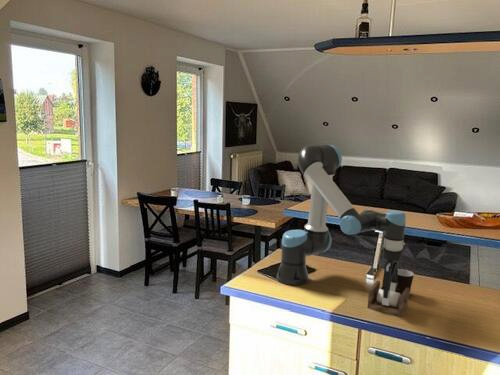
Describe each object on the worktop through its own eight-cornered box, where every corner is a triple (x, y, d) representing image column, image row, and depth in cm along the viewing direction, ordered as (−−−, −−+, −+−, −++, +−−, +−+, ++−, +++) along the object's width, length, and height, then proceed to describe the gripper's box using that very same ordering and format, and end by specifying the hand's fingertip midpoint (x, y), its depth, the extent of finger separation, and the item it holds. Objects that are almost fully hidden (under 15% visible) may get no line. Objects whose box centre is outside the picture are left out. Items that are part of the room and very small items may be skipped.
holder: (366, 307, 174) (368, 289, 173) (374, 297, 184) (376, 280, 183) (401, 317, 166) (403, 298, 165) (408, 306, 176) (410, 288, 175)
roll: (376, 303, 174) (378, 288, 174) (379, 302, 179) (382, 288, 179) (395, 308, 169) (398, 293, 170) (399, 307, 174) (401, 292, 175)
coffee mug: (413, 298, 184) (415, 277, 182) (392, 296, 186) (394, 275, 184) (408, 288, 195) (410, 268, 194) (389, 286, 197) (391, 266, 195)
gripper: (396, 257, 160) (390, 312, 164) (408, 244, 178) (403, 294, 182) (376, 253, 164) (371, 307, 168) (390, 241, 182) (386, 290, 185)
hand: (388, 300), depth 175 cm, fingers open, 8 cm apart
